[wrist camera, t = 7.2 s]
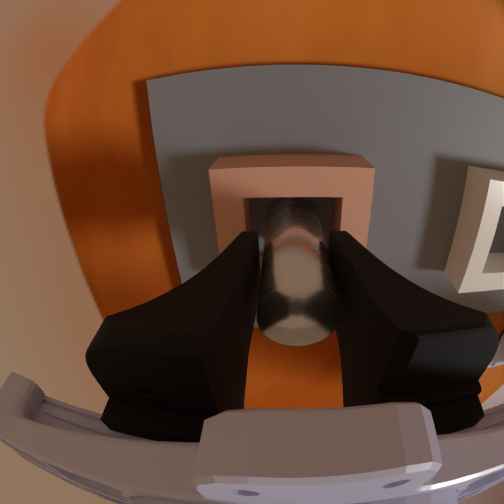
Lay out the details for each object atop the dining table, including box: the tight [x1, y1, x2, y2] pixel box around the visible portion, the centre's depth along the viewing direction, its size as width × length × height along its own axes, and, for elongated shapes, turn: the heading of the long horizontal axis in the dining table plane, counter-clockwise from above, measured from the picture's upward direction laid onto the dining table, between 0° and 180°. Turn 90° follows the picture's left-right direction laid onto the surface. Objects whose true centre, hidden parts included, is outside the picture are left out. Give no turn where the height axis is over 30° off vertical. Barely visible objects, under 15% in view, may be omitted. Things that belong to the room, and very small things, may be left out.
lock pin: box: [256, 197, 341, 346], centre depth 11 cm, size 2×2×6 cm
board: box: [146, 64, 504, 327], centre depth 14 cm, size 24×14×1 cm, turn 94°
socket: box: [209, 154, 375, 271], centre depth 13 cm, size 6×6×2 cm
